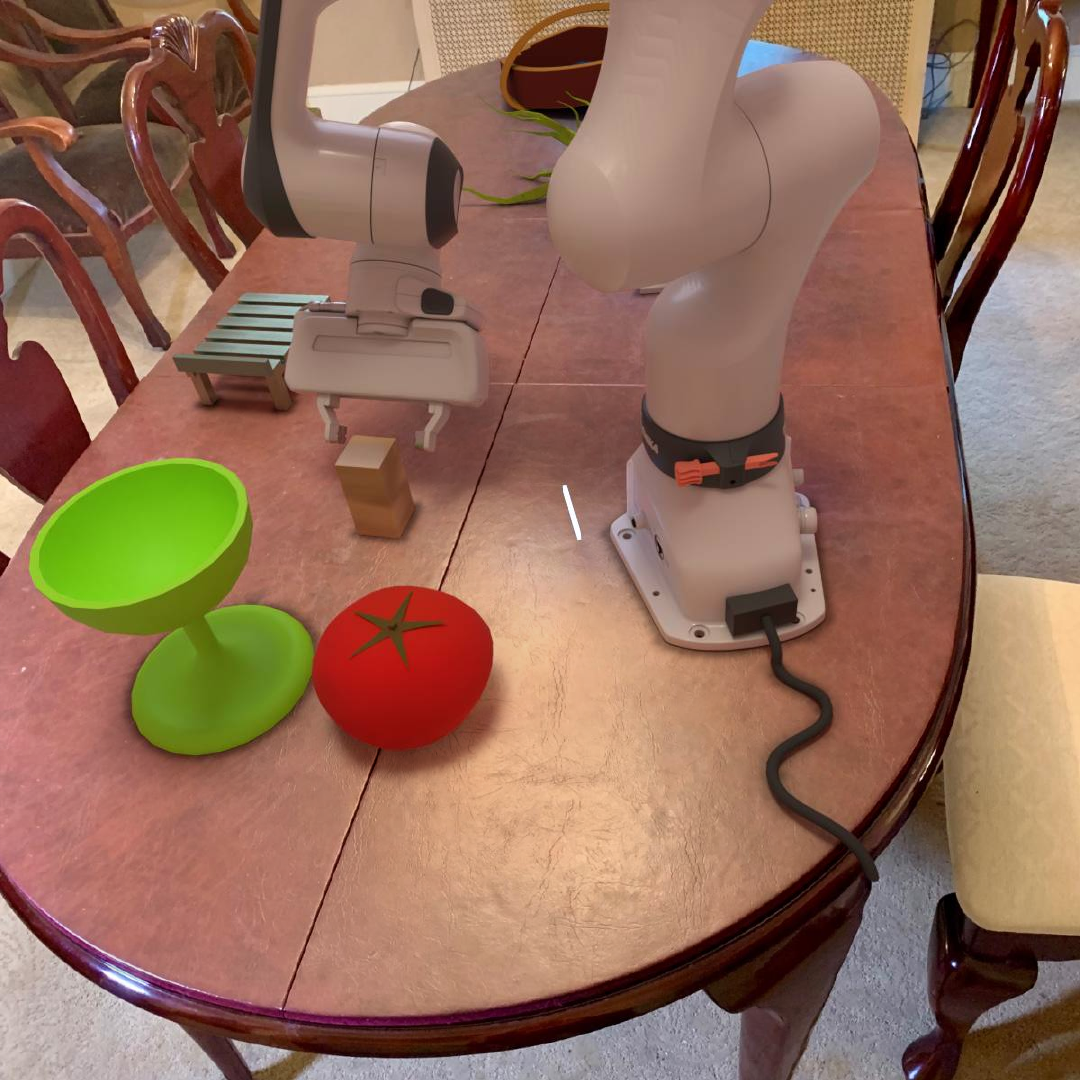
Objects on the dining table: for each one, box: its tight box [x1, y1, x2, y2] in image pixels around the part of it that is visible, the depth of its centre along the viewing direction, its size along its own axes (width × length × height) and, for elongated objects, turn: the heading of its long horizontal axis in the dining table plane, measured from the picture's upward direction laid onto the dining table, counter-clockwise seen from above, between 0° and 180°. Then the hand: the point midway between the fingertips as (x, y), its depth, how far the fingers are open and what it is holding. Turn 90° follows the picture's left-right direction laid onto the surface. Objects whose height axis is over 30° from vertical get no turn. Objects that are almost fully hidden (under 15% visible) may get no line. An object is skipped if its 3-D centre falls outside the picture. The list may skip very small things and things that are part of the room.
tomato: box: [311, 585, 495, 752], centre depth 74 cm, size 14×13×10 cm
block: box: [334, 434, 416, 540], centre depth 91 cm, size 4×4×9 cm
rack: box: [171, 292, 332, 411], centre depth 113 cm, size 17×12×8 cm
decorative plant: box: [462, 91, 590, 205], centre depth 138 cm, size 18×30×15 cm, turn 61°
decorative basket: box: [499, 1, 610, 111], centre depth 166 cm, size 34×29×15 cm
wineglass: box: [28, 457, 315, 756], centre depth 76 cm, size 16×16×18 cm
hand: (379, 447), depth 91 cm, fingers open, 8 cm apart
